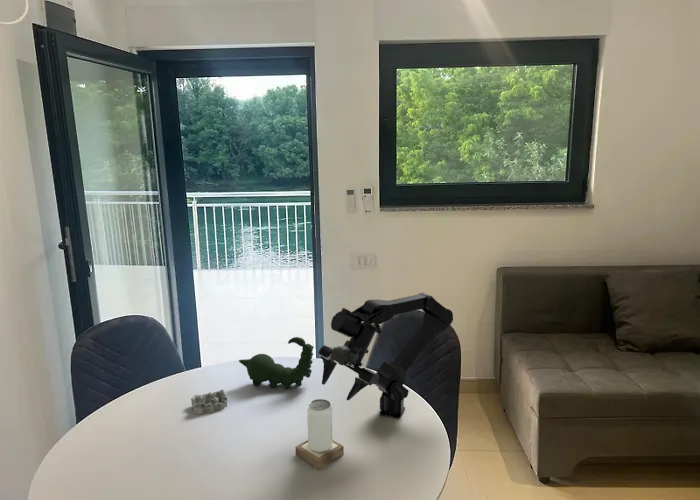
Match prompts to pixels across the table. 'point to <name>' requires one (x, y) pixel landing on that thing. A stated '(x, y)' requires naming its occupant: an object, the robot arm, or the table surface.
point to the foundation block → (319, 454)
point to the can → (320, 425)
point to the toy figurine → (280, 367)
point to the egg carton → (213, 398)
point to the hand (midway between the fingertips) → (335, 392)
